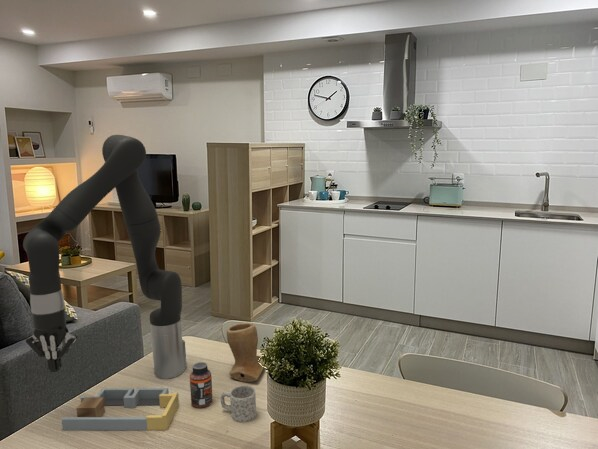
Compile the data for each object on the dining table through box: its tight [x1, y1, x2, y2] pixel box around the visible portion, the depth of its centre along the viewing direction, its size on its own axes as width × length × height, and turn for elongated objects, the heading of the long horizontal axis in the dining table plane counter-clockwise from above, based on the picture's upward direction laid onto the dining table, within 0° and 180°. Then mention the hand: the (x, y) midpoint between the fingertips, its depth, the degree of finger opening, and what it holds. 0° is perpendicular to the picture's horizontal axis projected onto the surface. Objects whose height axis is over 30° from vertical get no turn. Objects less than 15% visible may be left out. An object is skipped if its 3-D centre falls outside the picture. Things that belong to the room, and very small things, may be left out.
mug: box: [220, 385, 257, 423], centre depth 124 cm, size 10×7×7 cm, turn 71°
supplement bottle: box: [189, 361, 214, 409], centre depth 129 cm, size 6×6×11 cm
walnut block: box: [75, 397, 106, 417], centre depth 124 cm, size 5×5×4 cm
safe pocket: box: [145, 391, 180, 431], centre depth 123 cm, size 5×11×4 cm, turn 178°
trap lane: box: [61, 387, 170, 431], centre depth 126 cm, size 23×15×3 cm, turn 88°
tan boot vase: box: [226, 322, 265, 383], centre depth 146 cm, size 15×12×15 cm
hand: (55, 370), depth 122 cm, fingers closed
